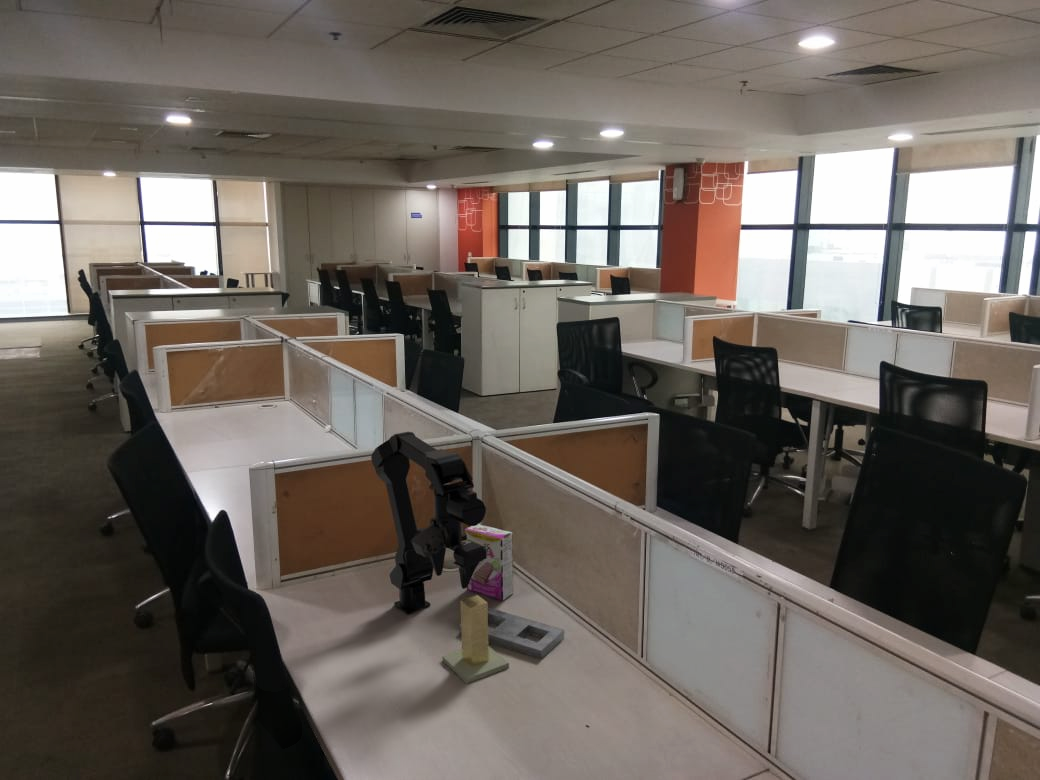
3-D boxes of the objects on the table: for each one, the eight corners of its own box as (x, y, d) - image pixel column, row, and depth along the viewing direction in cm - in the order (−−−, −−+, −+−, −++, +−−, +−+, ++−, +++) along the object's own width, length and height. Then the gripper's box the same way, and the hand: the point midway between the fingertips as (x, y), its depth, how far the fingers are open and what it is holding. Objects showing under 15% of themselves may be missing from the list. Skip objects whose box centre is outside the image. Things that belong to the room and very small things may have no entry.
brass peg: (462, 658, 160) (460, 600, 157) (478, 652, 162) (477, 594, 159) (471, 667, 156) (470, 608, 154) (488, 660, 159) (487, 602, 156)
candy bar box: (465, 591, 191) (463, 528, 188) (477, 583, 195) (475, 522, 192) (503, 602, 185) (501, 538, 182) (514, 594, 190) (513, 531, 186)
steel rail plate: (459, 633, 171) (459, 625, 171) (484, 614, 180) (484, 606, 179) (541, 659, 161) (541, 650, 160) (564, 637, 169) (564, 629, 169)
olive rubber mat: (442, 660, 161) (442, 656, 160) (483, 646, 166) (483, 641, 166) (466, 683, 153) (466, 678, 152) (508, 667, 158) (508, 662, 158)
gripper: (392, 512, 166) (396, 580, 169) (443, 534, 152) (447, 608, 155) (434, 499, 173) (437, 565, 176) (487, 520, 160) (489, 590, 162)
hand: (451, 581), depth 167 cm, fingers open, 9 cm apart
